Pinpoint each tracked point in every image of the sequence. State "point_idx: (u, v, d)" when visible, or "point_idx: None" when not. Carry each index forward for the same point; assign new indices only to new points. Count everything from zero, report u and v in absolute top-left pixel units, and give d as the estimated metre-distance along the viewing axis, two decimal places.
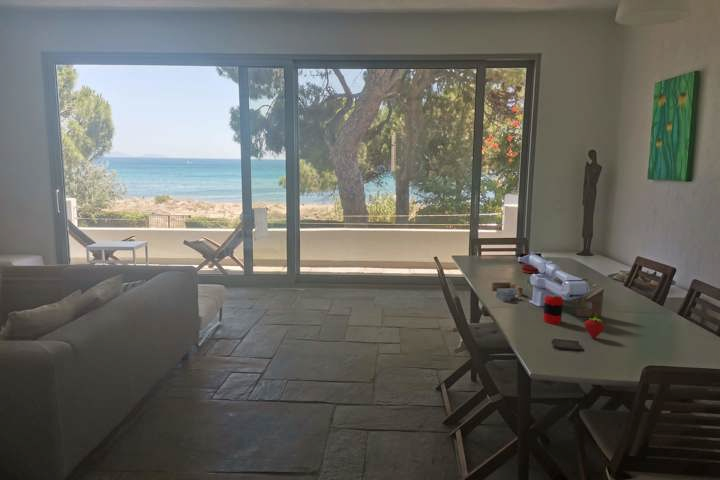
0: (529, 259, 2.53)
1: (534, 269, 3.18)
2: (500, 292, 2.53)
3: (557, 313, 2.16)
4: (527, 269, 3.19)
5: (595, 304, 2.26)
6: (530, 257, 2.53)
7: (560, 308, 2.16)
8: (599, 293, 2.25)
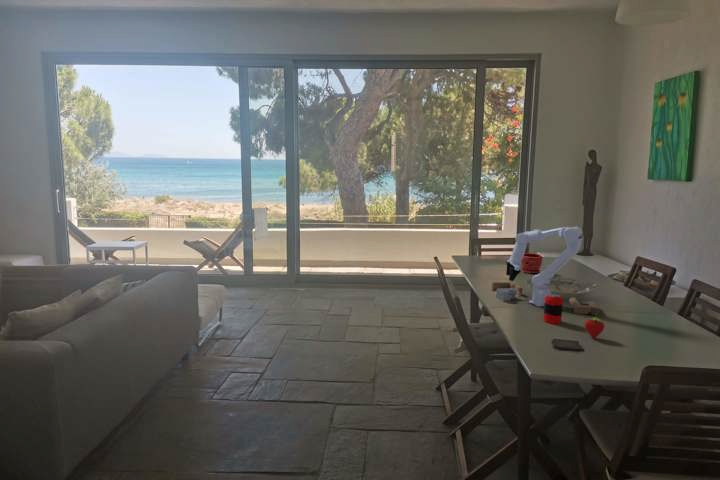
0: (515, 260, 2.53)
1: (534, 269, 3.18)
2: (500, 292, 2.53)
3: (557, 313, 2.16)
4: (527, 269, 3.19)
5: (590, 304, 2.36)
6: (513, 260, 2.53)
7: (560, 308, 2.16)
8: (590, 301, 2.41)
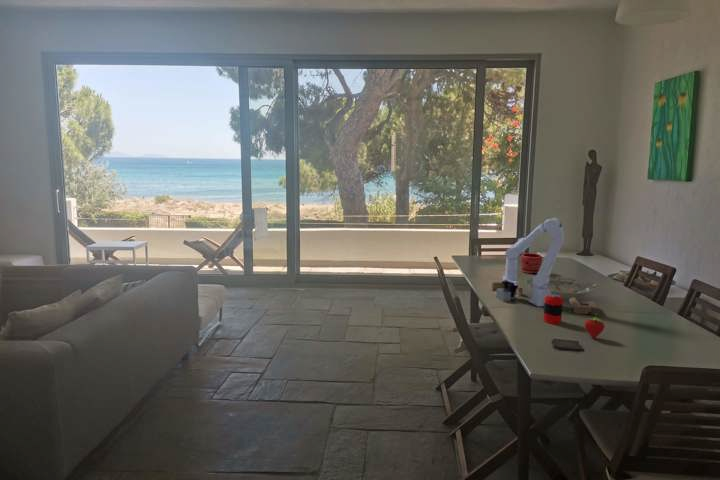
0: (512, 276, 2.53)
1: (534, 269, 3.18)
2: (501, 292, 2.53)
3: (557, 313, 2.16)
4: (527, 269, 3.19)
5: (590, 304, 2.36)
6: (509, 276, 2.53)
7: (560, 308, 2.16)
8: (590, 301, 2.41)
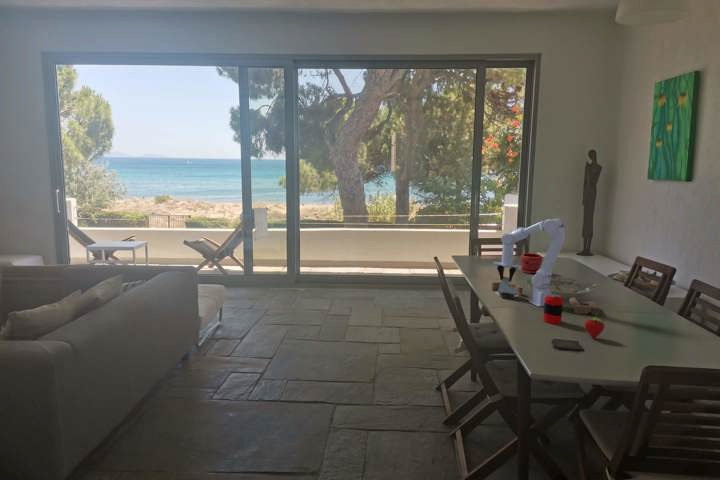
0: (512, 261, 2.58)
1: (534, 269, 3.18)
2: (507, 293, 2.56)
3: (557, 313, 2.16)
4: (527, 269, 3.19)
5: (590, 304, 2.36)
6: (510, 261, 2.57)
7: (560, 308, 2.16)
8: (590, 301, 2.41)
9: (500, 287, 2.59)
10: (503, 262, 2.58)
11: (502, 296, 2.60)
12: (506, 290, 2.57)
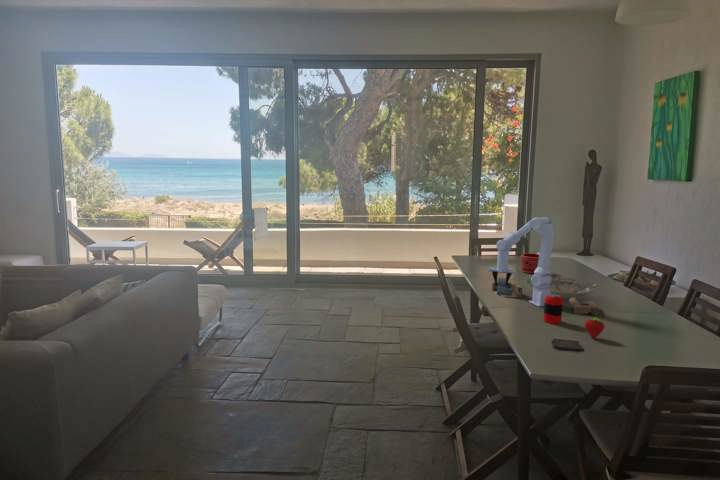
0: (507, 267, 2.64)
1: (534, 269, 3.18)
2: (506, 289, 2.61)
3: (557, 313, 2.16)
4: (527, 269, 3.19)
5: (590, 304, 2.36)
6: (506, 267, 2.63)
7: (560, 308, 2.16)
8: (590, 301, 2.41)
9: (498, 284, 2.64)
10: (499, 268, 2.64)
11: (502, 296, 2.60)
12: (505, 286, 2.62)
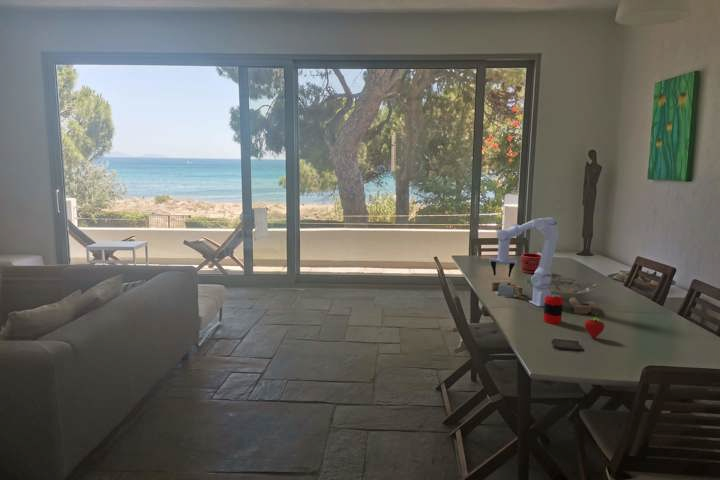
0: (508, 257, 2.63)
1: (534, 269, 3.18)
2: (507, 289, 2.61)
3: (557, 313, 2.16)
4: (527, 269, 3.19)
5: (590, 304, 2.36)
6: (507, 257, 2.62)
7: (560, 308, 2.16)
8: (590, 301, 2.41)
9: (500, 285, 2.64)
10: (500, 258, 2.63)
11: (502, 296, 2.60)
12: (506, 286, 2.62)
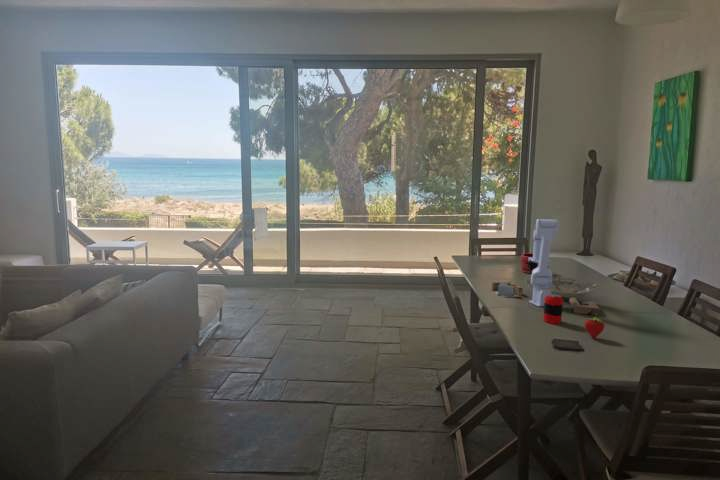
0: None
1: None
2: (507, 289, 2.61)
3: (557, 313, 2.16)
4: (527, 269, 3.19)
5: (590, 304, 2.36)
6: (538, 257, 2.62)
7: (560, 308, 2.16)
8: (590, 301, 2.41)
9: (500, 285, 2.64)
10: None
11: (502, 296, 2.60)
12: (506, 286, 2.62)
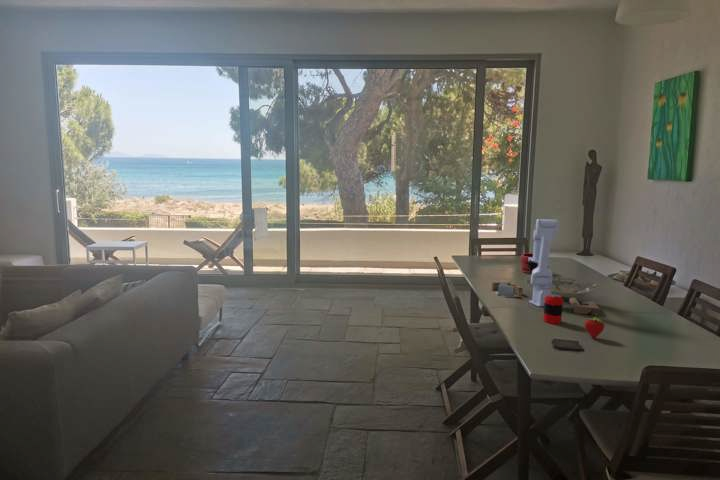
0: None
1: None
2: (507, 289, 2.61)
3: (557, 313, 2.16)
4: (527, 269, 3.19)
5: (590, 304, 2.36)
6: (538, 257, 2.62)
7: (560, 308, 2.16)
8: (590, 301, 2.41)
9: (500, 285, 2.64)
10: None
11: (502, 296, 2.60)
12: (506, 286, 2.62)
